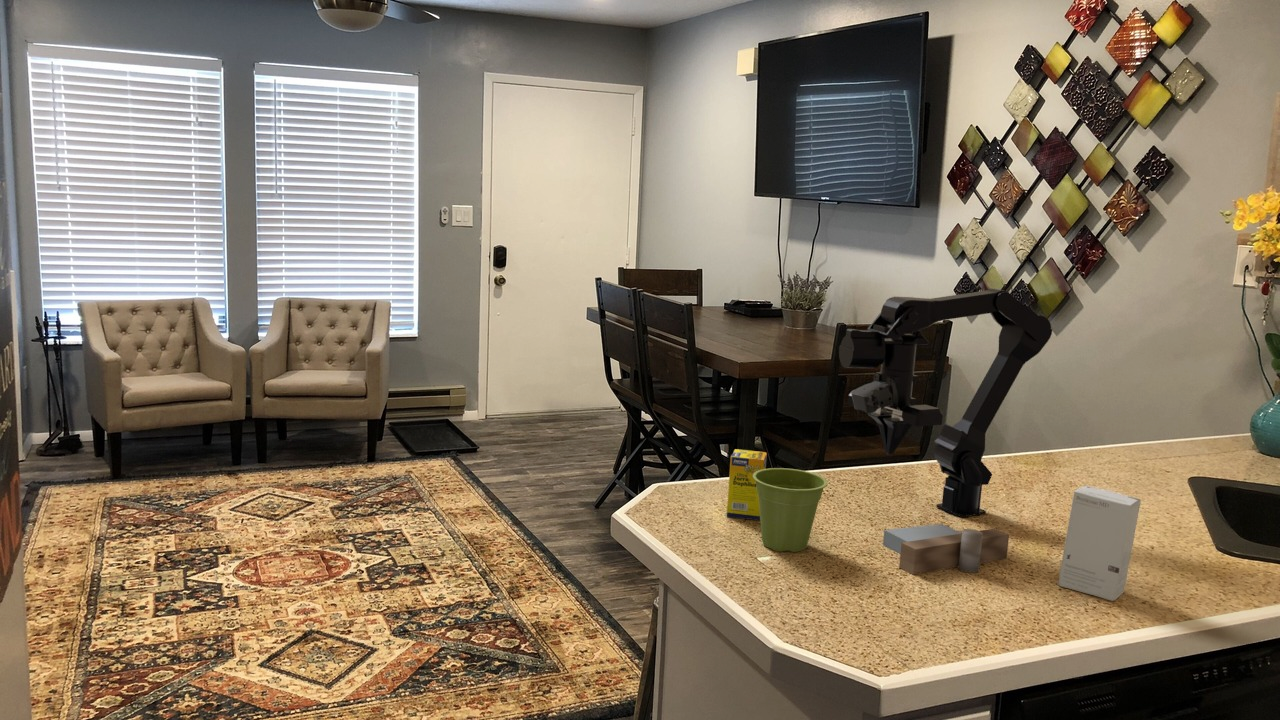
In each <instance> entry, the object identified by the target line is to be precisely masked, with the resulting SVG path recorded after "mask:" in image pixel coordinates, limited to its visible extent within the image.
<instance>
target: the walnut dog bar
mask: <svg viewBox="0 0 1280 720" xmlns="http://www.w3.org/2000/svg"><path fill="white" fill-rule="evenodd" d="M961 533H962V534H955V535H949V536H942V537H936V538H929V539H923V540H916V541H910V542H903V543H901V553H900V554H899V555H900V556H899V557H900V558H899V565H898V568H899V569H901V570H903V571H905V572H907V573H909V574H911V575H917V574H924V573H929V572H935V571H941V570H947V569H952V568H957V569H958V570H959V571H961V572H965V573H968V574H975V573H979V569H980V563H981V564H982V563H987V562H991V561H998V560H1002V559H1004V560H1005V559H1007V558H1008V549H1009V541H1010V540H1009V539H1010V534H1009V533H1007V532H1005V531H1003V530H1000V529H997V528H988V529H982V530H978V529H977V530H976V529H973V528H972V529H971V528H965V529H962V531H961Z"/></svg>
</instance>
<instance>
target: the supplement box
mask: <svg viewBox="0 0 1280 720" xmlns="http://www.w3.org/2000/svg"><path fill="white" fill-rule="evenodd" d="M767 455H768V453H767V452H765V451H755V450H749V449H739V448H737V449H736V448H735V449H734V450H733V453H732V454H731V455H730V462H729V474H728V475H729V478H728V491H727V503H726V505H727V507H726V517H729V518H737V519H746V520H752V521H760V509H759V497H758V493H757V487H756V481H755V480H754V479H753V474H754V473H755V472H756V471H759V470H763V469H767V468H766V467H767V457H768V456H767Z"/></svg>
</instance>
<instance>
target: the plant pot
mask: <svg viewBox="0 0 1280 720" xmlns="http://www.w3.org/2000/svg"><path fill="white" fill-rule="evenodd" d="M753 479H754V480H755V481H756V487H757V493H758V497H759V509H760V520H759V521H760V532H761V533H760V534H761V542H762V545H764V546H765V547H766V548H769V549H771V550H774V551H777V552H785V551H789V552H791V553H798V552H801V551H803V550H804V551H805V549H806V548H807V547H808V544H809V541H810V536H811V532H812V528H813V525H814V521H815V517H816V514H817V513H816V512H817V509H818V505H819V502H820V500H821V498H822V495H823V491H824V488H827V486H828V480H827V479H826V478H825V477H823V476H822V475H819V474H818V473H814V472H810V471H806V470H802V469H796V468H795V469H794V468H784V467H779V468H778V467H774V468H773V467H770V468H766V469H763V470H759V471H756V472H755V473H754V474H753Z"/></svg>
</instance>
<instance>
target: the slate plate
mask: <svg viewBox="0 0 1280 720" xmlns="http://www.w3.org/2000/svg"><path fill="white" fill-rule="evenodd" d="M955 534H962V531H959V530H956V529H954V528H952V527H950V526H948V525H945V524H944V523H939V524H929V525H920V526H908V527H900V528H891V529H884V530H883V541H882V546H884V547H885V548H888V549H889V550H891V551H892V552H895V553H896V554H899V555H900V553H901V543H903V542H910V541H916V540H923V539H929V538H936V537H942V536H949V535H955Z"/></svg>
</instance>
